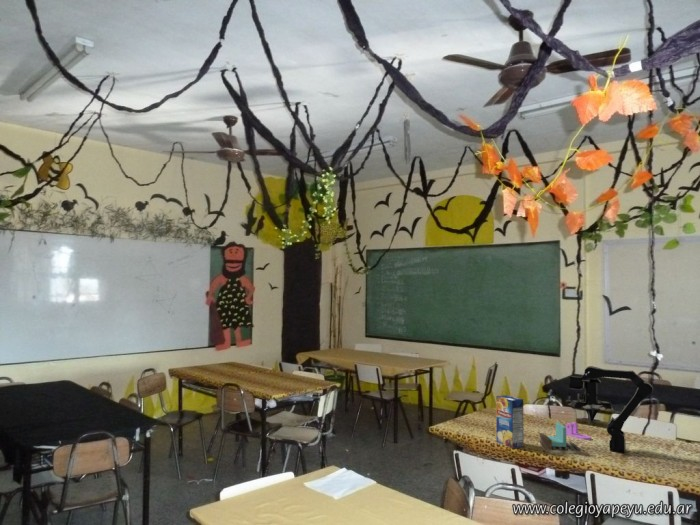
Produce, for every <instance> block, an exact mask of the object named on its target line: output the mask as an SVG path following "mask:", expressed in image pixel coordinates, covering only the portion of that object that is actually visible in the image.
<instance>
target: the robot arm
mask: <svg viewBox="0 0 700 525" xmlns="http://www.w3.org/2000/svg"><path fill="white" fill-rule="evenodd" d="M600 378H613V379H614V378H615V379H628V380H630V381H631V382H632V383H633V384H634V385H635V386H636V387H637V388H636V390H635V393H634V395H633V397H632V398H631V399H630V400H629V401H628V403H627V404H626V405H625V407H624V408H623V409H621V410H622V411H620V413H619V414H618V416H616V417H613V416H612V417H611V419H610V420H609V421H607V424H606V425H607V428H606V431H607V433H608V434H609V435H610V436H611V437H610V439H609V451H610V452H615V453H620V454H625V453H626V452H627V449H626V447H627V446H626V443H627V442H626V440H627V439H626V438H625V432H624V431H623V430H622V429H623V427H624V425H625V423H626V422H627V419H629V418H630V416H631V415H632V413H633V412H634V411H635V410H636V409H637V407H638V406H639V404H640V403H641V402H642V401H643V400H645V399H646V398H648V397H649V396H650V395H651V394H652V393H653V386H652V384H651V383H650V382H648V381H645V380H644V379H642V378H641V376H639V375H638V374H637V373H636V372H635V371H634V370H620V369H606V368H600V367H597V366H593V365H590V366H587V367H586V368H585V369H584V373H583V374H582V375H581V376H573V375H570V376H569V384H568V385H569V389H570V390H576V391H577V390H578V391H581V390H582V389H584V392H583V393H576V394H577V396H576V398H577V400H571V401H570V406H571V407H573V408H575V409H581V408H582V409H583V410H585V411H586V412H585V413H586V414H587V416H588V419H589V422H591V423H592V422H593V421H594V420H595V418H596V415H597V414H598V412H599V411H601V407H602V408H603V407H604V409H605V410H612V409H613V405H612V403H611V402H608V401H602V400H601V401H598V397H599V394H598V384H601V383H602V381H601V380H600ZM588 379H589V380H588Z"/></svg>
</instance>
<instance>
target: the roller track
mask: <svg viewBox="0 0 700 525" xmlns="http://www.w3.org/2000/svg"><path fill="white" fill-rule="evenodd" d="M538 436H539V442H538V446H539V445H540V447H541V449H543V451H544V452H546V453H553V452H556V453H557V452H558V453H557V454H559V453H560V454H582V455H583V454H585V451H584V450H582V449H581V448H580V447H579V446H578V445H576V444H575V443H573V442H572V441H568V442H567V441H566V447H557V446H552V440H551V439H550V438H549V437H547V436H548V435H546V434H545V433H544V432H539V435H538ZM556 453H555V454H556Z"/></svg>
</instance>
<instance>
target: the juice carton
mask: <svg viewBox="0 0 700 525" xmlns="http://www.w3.org/2000/svg"><path fill="white" fill-rule="evenodd" d="M495 398H496V401H495V402H496V413H495V414H496V443H498V444H500V445H503V446H506V447H508V448H510V449H517V448H523V447H524V445H525V444H524V441H525V439H524V431H525V430H524V428H525V427H524V399H523V398H519V397H516V396H512V395H507V394H506V395H496V396H495Z"/></svg>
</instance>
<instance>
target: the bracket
mask: <svg viewBox="0 0 700 525" xmlns="http://www.w3.org/2000/svg"><path fill="white" fill-rule="evenodd" d="M578 425H579V424H577V422H575V421H572V422H568V423H565V427H566V436H568V437H571V436H572V437H571V438H575V437H576V438H575V439H580V440H582V439H584V440H583V441H591V440H592V437H591V436H590V435H587V434H583V433H579V430H578V428H579V427H578Z"/></svg>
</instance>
